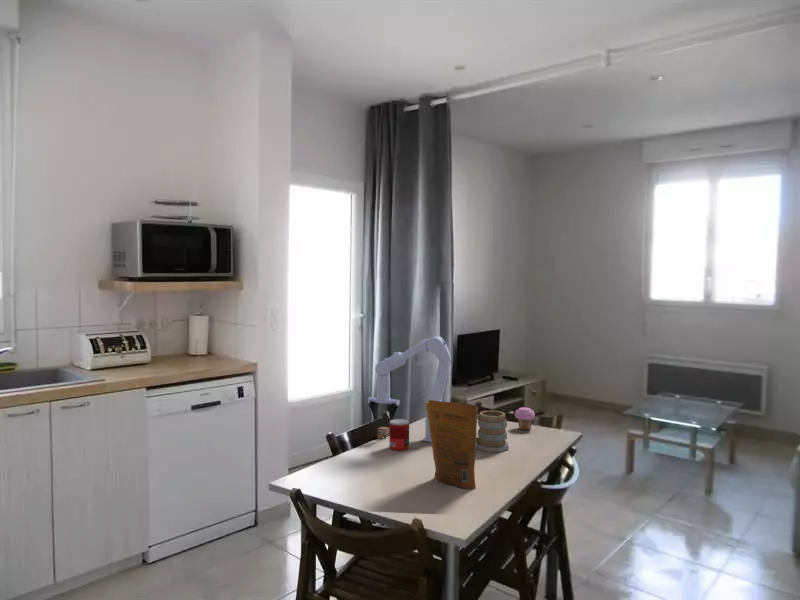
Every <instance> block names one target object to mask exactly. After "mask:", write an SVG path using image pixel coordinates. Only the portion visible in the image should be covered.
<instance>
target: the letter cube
mask: <svg viewBox="0 0 800 600" xmlns="http://www.w3.org/2000/svg"><path fill="white" fill-rule="evenodd" d="M376 434H377V439H383V437H384V438H386V437H388V436H390V426H389V427H387V426H380V427H378V428H377V432H376ZM388 438H389V437H388ZM386 439H387V438H386Z"/></svg>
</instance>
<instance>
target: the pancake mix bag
mask: <svg viewBox="0 0 800 600" xmlns="http://www.w3.org/2000/svg"><path fill="white" fill-rule="evenodd" d="M478 409H479V407H478V406H477V405H474V404H470V403H465V402H464V403H463V402H454V401H442V402H441V401H434V400H431V399H428V401H427V402H425V411H426V413H427V418H428V425H429V431H430V438H431V442H430V443H431V450H432V456H433V461H434V467H435V472H434V479H435V481H436V480H437V481H436V482H438V483H440V482H441V484H444V483H445V484H444V485H448V486H449V485H450V486H452V487H456V488H460V489H463V490H473V489H477V486H476V481H475V478H476V477H475V476H476V475H475V467H476V466H475V465H476V449H477V446H476V438H477V437H478V434H477V433H478V429H477V425H478V419H477V415H478Z"/></svg>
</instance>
